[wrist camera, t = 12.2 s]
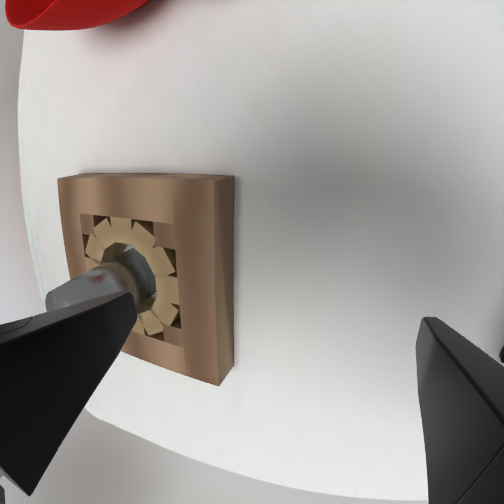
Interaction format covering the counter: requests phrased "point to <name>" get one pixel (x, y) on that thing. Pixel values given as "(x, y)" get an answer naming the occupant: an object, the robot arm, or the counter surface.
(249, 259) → the counter surface
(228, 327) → the bearing housing
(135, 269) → the steel roller
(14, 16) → the ceramic cup
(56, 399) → the robot arm
